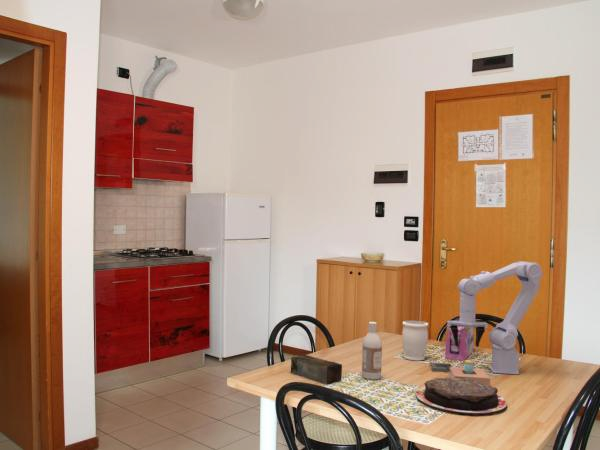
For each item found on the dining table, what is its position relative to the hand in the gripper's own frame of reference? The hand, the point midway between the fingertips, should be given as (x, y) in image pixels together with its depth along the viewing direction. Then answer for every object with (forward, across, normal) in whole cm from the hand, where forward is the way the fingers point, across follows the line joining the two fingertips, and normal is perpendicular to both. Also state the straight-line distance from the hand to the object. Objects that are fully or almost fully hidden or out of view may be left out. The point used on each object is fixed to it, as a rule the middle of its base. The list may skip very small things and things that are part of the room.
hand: (466, 345), depth 199 cm
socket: (+10, -1, -11) cm, 15 cm away
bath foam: (+10, -36, -15) cm, 40 cm away
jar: (+10, -18, +16) cm, 26 cm away
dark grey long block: (+10, -56, -18) cm, 60 cm away
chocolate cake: (+10, -8, -34) cm, 36 cm away
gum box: (+10, +2, +28) cm, 30 cm away
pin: (+10, -1, -11) cm, 15 cm away
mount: (+10, -9, +2) cm, 14 cm away
